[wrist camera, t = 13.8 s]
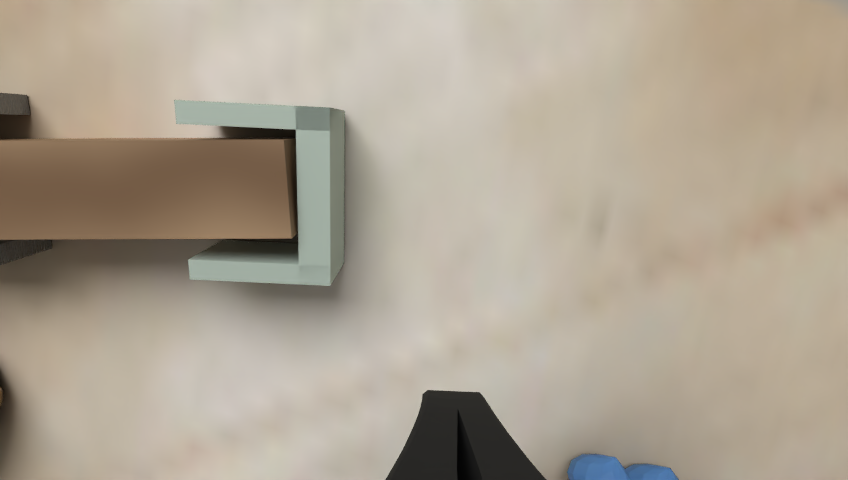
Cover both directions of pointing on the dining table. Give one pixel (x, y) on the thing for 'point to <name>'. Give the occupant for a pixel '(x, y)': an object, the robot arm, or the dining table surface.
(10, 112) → the fixed cap
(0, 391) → the bread roll
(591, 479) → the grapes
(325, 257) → the sliding cap
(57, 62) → the dining table surface
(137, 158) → the slat
